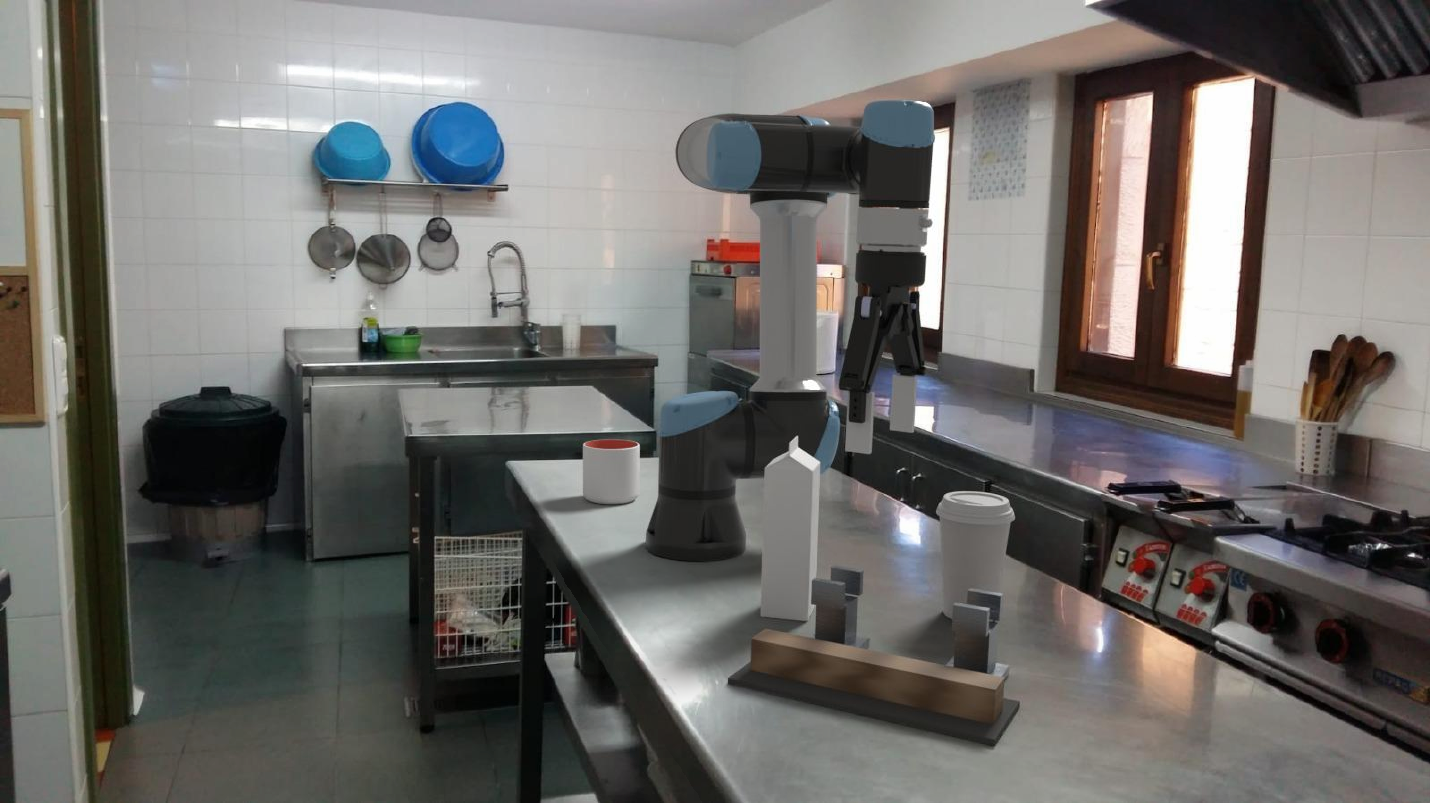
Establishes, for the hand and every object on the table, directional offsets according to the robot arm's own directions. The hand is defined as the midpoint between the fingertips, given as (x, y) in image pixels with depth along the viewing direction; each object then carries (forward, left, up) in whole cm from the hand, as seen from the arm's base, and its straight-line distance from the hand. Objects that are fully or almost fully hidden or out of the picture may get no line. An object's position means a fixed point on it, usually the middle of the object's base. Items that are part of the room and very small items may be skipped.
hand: (881, 441), depth 122 cm
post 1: (-4, -2, -24) cm, 24 cm away
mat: (+4, -12, -24) cm, 28 cm away
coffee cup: (+6, +18, -24) cm, 31 cm away
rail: (+5, -13, -24) cm, 27 cm away
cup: (-66, +45, -24) cm, 83 cm away
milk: (-14, +7, -24) cm, 29 cm away
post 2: (+12, -2, -24) cm, 27 cm away
